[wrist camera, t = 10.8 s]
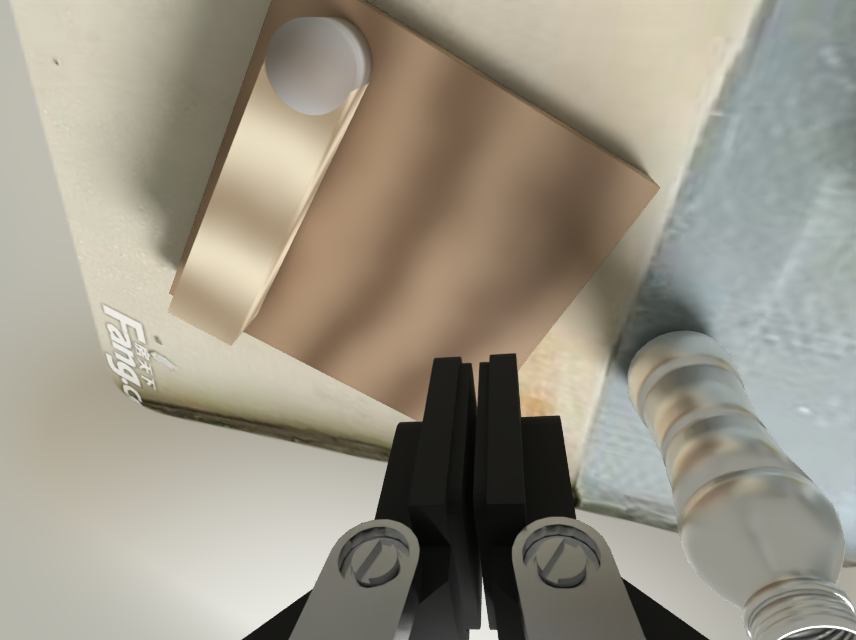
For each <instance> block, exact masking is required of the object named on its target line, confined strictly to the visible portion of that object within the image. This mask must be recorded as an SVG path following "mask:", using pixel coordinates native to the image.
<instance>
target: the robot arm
mask: <svg viewBox="0 0 856 640" xmlns="http://www.w3.org/2000/svg"><path fill="white" fill-rule="evenodd" d="M482 577H483V584H484V592H485V599H486V606H487V614H488V621H489V628H490V630H497V631H498V639H499V640H709V639H708V638H706V637H705V636H703V635H701V633H699V632H698V631H696V630H695V629H693V628H692V627H690V626H689V625H688V624H686V623H685V622H684V621H682V620H681V619H679V618H678V617H676V616H675V615H674V614H672V613H671V612H670V611H668V610H667V609H665V608H664V607H663V606H661V605H660V604H658V603H657V602H656V601H654V600H653V599H651V598H650V597H648V596H647V595H646V594H644V593H643V592H641V591H640V590H639V589H637V588H636V587H634V586H633V585H632V584H630V583H629V582H627V581H626V580H625V579H623V578H622V577H621V576H620V573H619V570H618V568H617V565H616V563H615V560H614V558H613V555H612V553H611V550H610V548H609V546H608V545H607V543H606V541H605V540H604V538H603V536H601V535H600V534H599V533H598V532H597V531H596V530H595V529H594V528H592V527H591V526H589V525H587V524H585V523H583V522H581V521H579V520H576V515H575V508H574V502H573V495H572V489H571V482H570V476H569V470H568V463H567V457H566V450H565V444H564V437H563V431H562V425H561V419H560V416H539V417H521V410H520V396H519V383H518V369H517V356H516V353H508V354H491V355H490V356H489V362H480V363H479V381H478V402H476V393H475V385H474V376H473V368H472V363H462V359H461V356H458V357H441V358H434V360H433V365H432V371H431V377H430V382H429V388H428V393H427V399H426V405H425V410H424V416H423V421H419V422H400V423H399V424H398V425H397V428H396V432H395V436H394V440H393V444H392V449H391V453H390V457H389V461H388V465H387V470H386V474H385V478H384V482H383V487H382V491H381V495H380V499H379V503H378V508H377V512H376V516H375V520H372V521H368V522H364V523H361V524H359V525H357V526H355V527H354V528H352V529H350V530H349V531H348V532H346V533H345V534H344V535H343V536H342V537H340V538H339V539H338V541H337V542H336V544H335V545H334V547H333V548H332V550H331V552H330V554H329V556H328V558H327V561H326V562H325V565H324V567H323V569H322V571H321V573H320V575H319V577H318V580H317V581H316V584H315V586H314V588H313V589H312V590H311V591H309V592H308V593H306V594H305V595H304V596H302V597H301V598H299V599H298V600H297V601H295V602H294V603H293V604H291V605H290V606H288V607H287V608H285V609H284V610H283V611H281V612H280V613H279V614H277V615H276V616H274V617H273V618H272V619H270V620H269V621H267V622H266V623H265V624H263V625H262V626H260V627H259V628H258V629H256V630H255V631H253V632H252V633H251V634H249V635H248V636H246V637H245V638H244V639H242V640H469V629H480V627H481V599H482Z"/></svg>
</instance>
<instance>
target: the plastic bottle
mask: <svg viewBox="0 0 856 640" xmlns="http://www.w3.org/2000/svg"><path fill="white" fill-rule="evenodd" d="M627 378H628V393H629V398H630V401H631V404H632V406H633V407H634V409H635V411H636V412H637V414H638V416H639V417H640V419H641V420H642V422H643V423H644V424H645V426H646V427H647V428H648V429H649V431H650V433H651V435H652V437H653V439H654V441H655V443H656V445H657V447H658V449H659V451H660V453H661V455H662V458H663V461H664V464H665V467H666V471H667V475H668V478H669V481H670V485H671V488H672V493H673V499H674V505H675V511H676V517H677V524H678V530H679V536H680V540H681V544H682V548H683V551H684V554H685V556H686V559H687V561H688V562H689V563H690V565H691V566H692V567H693V569H694V570H695V571H696V573H697V574H698V575H699V577H700V578H701V579H702V580H703V582H704V583H705V584H706V585H707V586H709V587H710V588H711V589H712V590H714V591H715V592H716V593H718V594H719V595H720V596H722V597H723V598H724V599H725V600H727V601H728V602H729V603H731V604H733V605H735V606H736V607H738V608H739V609H741V610H742V621H743V624H744V627H745V629H746V632H747V634H748V636H749V637H750V638H751V640H856V612H855V608H854V606H853V604H852V603H851V601H850V599H849V597H848V596H847V594H846V593H845V591H843V590H842V589H841V588H840V587H839V586H837V584H838V580H839V577H840V574H841V571H842V564H843V558H844V551H845V539H844V534H843V530H842V526H841V523H840V519H839V515H838V513H837V511H836V509H835V507H834V506H833V504H832V503H831V502H830V501H829V499H828V498H827V497H826V496H825V494H824V493H823V492H822V490H821V489H820V488H819V487H817V486H816V484H815V483H814V482H813V481H812V480H811V479H810V478H809V477H808V476H807V475H806V474H805V473H804V472H803V471H802V470H801V469H800V468H799V467H798V466H797V465H796V464H795V463H794V462H793V460H792V459H791V458H790V457H789V456H788V455H787V454H786V453H785V452H784V451H783V450H782V449H781V447H780V446H779V445H778V443H777V442H776V441H775V439H774V438H773V437H772V435H771V434H770V433H769V432H768V431H767V429H766V428H765V426H764V425H763V423H762V422H761V421H760V420H759V418H758V416H757V414H756V412H755V410H754V408H753V406H752V404H751V402H750V400H749V398H748V396H747V394H746V392H745V389H744V385H743V381H742V378H741V375H740V372H739V370H738V367H737V365H736V362H735V361H734V359H733V357H732V356H731V354H730V353H729V352H728V351H727V350H726V349H725V348H724V347H722V346H721V345H720V344H719V343H718V342H716V341H715V340H714V339H712V338H710V337H709V336H707V335H705V334H702V333H699V332H695V331H688V330H687V331H674V332H668V333H665V334H663V335H660V336H657V337H656V338H654V339H652V340H650V341H649V342H648V343H646V344H645V345H644V346H642V347H641V349H640V350H639V351H638V352H637V353H636V354H635V356H634V358H633V359H632V361H631V363H630V366H629V369H628V377H627Z"/></svg>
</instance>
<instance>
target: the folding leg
mask: <svg viewBox="0 0 856 640" xmlns="http://www.w3.org/2000/svg"><path fill="white" fill-rule="evenodd" d="M372 71H373V56H372V52H371V48H370V45H369V43H368V41H367V39H366V38H365V36H364V35H363V33H362V32H361V31H360V30H359V29H358V28H357V27H356V26H355V25H353V24H352V23H350V22H348V21H346V20H344V19H341V18H336V17H300V18H295V19H292V20H290V21H288V22H286V23H285V24H283V25H282V26H281V27H280V28H279V29H278V30H277V31H276V32H275V33H274V35H273V37H272V38H271V41H270V43H269V46H268V49H267V55H266V57H265V60H264V62H263V65H262V68H261V70H260V73H259V75H258V78H257V81H256V83H255V86H254V88H253V91H252V94H251V96H250V99H249V101H248V104H247V107H246V109H245V112H244V114H243V117H242V120H241V122H240V125H239V127H238V130H237V133H236V135H235V138H234V140H233V143H232V145H231V148H230V151H229V153H228V156H227V158H226V161H225V164H224V166H223V169H222V171H221V174H220V177H219V179H218V182H217V184H216V187H215V190H214V192H213V195H212V197H211V200H210V203H209V205H208V208H207V210H206V213H205V216H204V218H203V221H202V223H201V226H200V229H199V231H198V234H197V236H196V239H195V242H194V244H193V247H192V249H191V252H190V255H189V257H188V260H187V262H186V265H185V268H184V270H183V273H182V275H181V278H180V281H179V283H178V286H177V288H176V291H175V294H174V296H173V299H172V301H171V304H170V307H169V309H168V313H170V314H172V315H174V316H176V317H178V318H180V319H182V320H184V321H185V322H187V323H189V324H191V325H193V326H195V327H197V328H199V329H201V330H203V331H204V332H206V333H208V334H210V335H212V336H214V337H216V338H218V339H220V340H221V341H223V342H225V343H227V344H229V345H232V344H233V343H234V342H235V341H236V339H237V338H238V337H239V336H240V335H241V333H242V332H243V331H244V330H245V329H246V327H247V326H248V325H249V324H250V322H251V321H252V320H253V319H254V318H255V316H256V315H257V314H258V312H259V310H260V308H261V306H262V304H263V301H264V299H265V297H266V295H267V293H268V291H269V289H270V287H271V285H272V283H273V281H274V279H275V277H276V275H277V272H278V270H279V268H280V266H281V264H282V262H283V260H284V258H285V256H286V254H287V252H288V250H289V248H290V246H291V243H292V241H293V239H294V237H295V235H296V233H297V231H298V229H299V227H300V225H301V223H302V221H303V219H304V216H305V214H306V212H307V210H308V208H309V206H310V204H311V202H312V200H313V198H314V196H315V194H316V192H317V190H318V187H319V185H320V183H321V181H322V179H323V177H324V175H325V173H326V171H327V169H328V167H329V165H330V163H331V161H332V158H333V156H334V154H335V152H336V150H337V148H338V146H339V144H340V142H341V140H342V138H343V136H344V134H345V132H346V129H347V127H348V125H349V123H350V121H351V119H352V117H353V115H354V113H355V111H356V109H357V107H358V105H359V103H360V100H361V98H362V96H363V94H364V92H365V90H366V88H367V86H368V84H369V82H370V79H371V76H372Z"/></svg>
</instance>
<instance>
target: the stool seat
mask: <svg viewBox="0 0 856 640" xmlns="http://www.w3.org/2000/svg"><path fill="white" fill-rule="evenodd" d="M300 17H336V18H341V19H344V20H346V21H348V22H350V23H352V24H353V25H355V26H356V27H357V28H358V29H359V30H360V31H361V32H362V33H363V35H364V36H365V38H366V39H367V41H368V43H369V45H370V48H371V52H372V56H373V71H372V76H371V79H370V82H369V84H368V86H367V88H366V90H365V92H364V94H363V96H362V98H361V100H360V103H359V105H358V107H357V109H356V111H355V113H354V115H353V117H352V119H351V121H350V123H349V125H348V127H347V129H346V132H345V134H344V136H343V138H342V140H341V142H340V144H339V146H338V148H337V150H336V152H335V154H334V156H333V158H332V161H331V163H330V165H329V167H328V169H327V171H326V173H325V175H324V177H323V179H322V181H321V183H320V185H319V187H318V190H317V192H316V194H315V196H314V198H313V200H312V202H311V204H310V206H309V208H308V210H307V212H306V214H305V216H304V219H303V221H302V223H301V225H300V227H299V229H298V231H297V233H296V235H295V237H294V239H293V241H292V243H291V246H290V248H289V250H288V252H287V254H286V256H285V258H284V260H283V262H282V264H281V266H280V268H279V270H278V272H277V275H276V277H275V279H274V281H273V283H272V285H271V287H270V289H269V291H268V293H267V295H266V297H265V299H264V301H263V304H262V306H261V308H260V310H259V312H258V314H257V315H256V316H255V318H254V319H253V320H252V321H251V322H250V324H249V325H248V326H247V327H246V329H245V330H244V331H243V332H245V333H247V334H249V335H251V336H253V337H255V338H257V339H259V340H261V341H263V342H265V343H266V344H268V345H270V346H272V347H274V348H276V349H278V350H280V351H282V352H284V353H286V354H288V355H290V356H292V357H294V358H296V359H298V360H300V361H301V362H303V363H305V364H307V365H309V366H311V367H313V368H315V369H317V370H319V371H321V372H323V373H325V374H327V375H329V376H331V377H333V378H335V379H336V380H338V381H340V382H342V383H344V384H346V385H348V386H350V387H352V388H354V389H356V390H358V391H360V392H362V393H364V394H366V395H368V396H370V397H371V398H373V399H375V400H377V401H379V402H381V403H383V404H385V405H387V406H389V407H391V408H393V409H395V410H397V411H399V412H401V413H403V414H405V415H406V416H408V417H410V418H412V419H414V420H416V421H418V422H419V421H423V416H424V410H425V405H426V399H427V393H428V388H429V382H430V377H431V371H432V365H433V360H434V358H441V357H458V356H461V359H462V363H472V368H473V376H474V385H475V393H476V402H478V381H479V363H480V362H489V356H490V355H491V354H508V353H516V356H517V369H518V370H519V369H520V368H521V366H522V365H523V364H524V362H525V361H526V360H527V359H528V357H529V356H530V355H531V353H532V352H533V351H534V350H535V348H536V347H537V346H538V344H539V343H540V342H541V341H542V339H543V338H544V337H545V335H546V334H547V333H548V332H549V330H550V329H551V328H552V326H553V325H554V324H555V323H556V321H557V320H558V319H559V317H560V316H561V315H562V314H563V312H564V311H565V310H566V308H567V307H568V306H569V305H570V303H571V302H572V301H573V299H574V298H575V297H576V296H577V294H578V293H579V292H580V290H581V289H582V288H583V287H584V285H585V284H586V283H587V281H588V280H589V279H590V278H591V276H592V275H593V274H594V272H595V271H596V270H597V269H598V267H599V266H600V265H601V264H602V262H603V261H604V260H605V258H606V257H607V256H608V255H609V253H610V252H611V251H612V249H613V248H614V247H615V246H616V244H617V243H618V242H619V240H620V239H621V238H622V237H623V235H624V234H625V233H626V231H627V230H628V229H629V228H630V226H631V225H632V224H633V222H634V221H635V220H636V219H637V217H638V216H639V215H640V213H641V212H642V211H643V210H644V208H645V207H646V206H647V204H648V203H649V202H650V201H651V199H652V198H653V197H654V195H655V194H656V193H657V192H658V190H659V189H660V187H659V186H658V185H657V184H656V183H655V182H654V181H653V179H652V178H651V177H650V176H648V175H647V174H645V173H643V172H642V171H640V170H639V169H637V168H635V167H634V166H632V165H630V164H629V163H627V162H626V161H624V160H622V159H621V158H619V157H618V156H616V155H614V154H613V153H611V152H609V151H608V150H606V149H605V148H603V147H601V146H600V145H598V144H597V143H595V142H593V141H592V140H590V139H589V138H587V137H585V136H584V135H582V134H580V133H579V132H577V131H576V130H574V129H572V128H571V127H569V126H568V125H566V124H564V123H563V122H561V121H559V120H558V119H556V118H555V117H553V116H551V115H550V114H548V113H547V112H545V111H543V110H542V109H540V108H539V107H537V106H535V105H534V104H532V103H530V102H529V101H527V100H526V99H524V98H522V97H521V96H519V95H518V94H516V93H514V92H513V91H511V90H510V89H508V88H506V87H505V86H503V85H501V84H500V83H498V82H497V81H495V80H493V79H492V78H490V77H489V76H487V75H485V74H484V73H482V72H480V71H479V70H477V69H476V68H474V67H472V66H471V65H469V64H468V63H466V62H464V61H463V60H461V59H460V58H458V57H456V56H455V55H453V54H451V53H450V52H448V51H447V50H445V49H443V48H442V47H440V46H439V45H437V44H435V43H434V42H432V41H430V40H429V39H427V38H426V37H424V36H422V35H421V34H419V33H418V32H416V31H414V30H413V29H411V28H410V27H408V26H406V25H405V24H403V23H401V22H400V21H398V20H397V19H395V18H393V17H392V16H390V15H389V14H387V13H385V12H384V11H382V10H380V9H379V8H377V7H376V6H374V5H372V4H371V3H369V2H368V1H366V0H272V1H271V4H270V7H269V9H268V12H267V15H266V18H265V21H264V24H263V27H262V29H261V32H260V35H259V38H258V41H257V44H256V47H255V49H254V52H253V55H252V58H251V61H250V64H249V67H248V69H247V72H246V75H245V78H244V81H243V84H242V87H241V89H240V92H239V95H238V98H237V101H236V104H235V107H234V109H233V112H232V115H231V118H230V121H229V124H228V127H227V129H226V132H225V135H224V138H223V141H222V144H221V147H220V149H219V152H218V155H217V158H216V161H215V164H214V167H213V169H212V172H211V175H210V178H209V181H208V184H207V187H206V189H205V192H204V195H203V198H202V201H201V204H200V207H199V209H198V212H197V215H196V218H195V221H194V224H193V227H192V229H191V232H190V235H189V238H188V241H187V244H186V247H185V249H184V252H183V255H182V258H181V261H180V264H179V267H178V269H177V272H176V275H175V278H174V281H173V284H172V287H171V289H170V292H169V294H171V295H173V296H174V294H175V291H176V288H177V286H178V283H179V281H180V278H181V275H182V273H183V270H184V268H185V265H186V262H187V260H188V257H189V255H190V252H191V249H192V247H193V244H194V242H195V239H196V236H197V234H198V231H199V229H200V226H201V223H202V221H203V218H204V216H205V213H206V210H207V208H208V205H209V203H210V200H211V197H212V195H213V192H214V190H215V187H216V184H217V182H218V179H219V177H220V174H221V171H222V169H223V166H224V164H225V161H226V158H227V156H228V153H229V151H230V148H231V145H232V143H233V140H234V138H235V135H236V133H237V130H238V127H239V125H240V122H241V120H242V117H243V114H244V112H245V109H246V107H247V104H248V101H249V99H250V96H251V94H252V91H253V88H254V86H255V83H256V81H257V78H258V75H259V73H260V70H261V68H262V65H263V62H264V60H265V57H266V55H267V49H268V46H269V43H270V41H271V38H272V37H273V35H274V33H275V32H276V31H277V30H278V29H279V28H280V27H281V26H282V25H283V24H285V23H286V22H288V21H290V20H292V19H295V18H300Z"/></svg>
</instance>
